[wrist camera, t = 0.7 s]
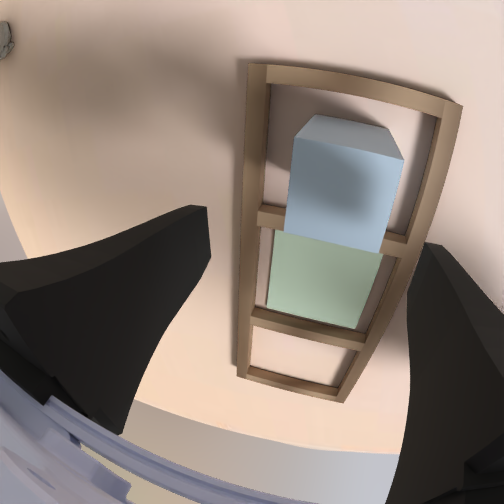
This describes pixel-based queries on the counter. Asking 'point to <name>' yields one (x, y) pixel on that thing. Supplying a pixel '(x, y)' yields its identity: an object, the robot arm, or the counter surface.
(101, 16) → the counter surface
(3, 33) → the figurine
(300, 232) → the block
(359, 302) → the rack
